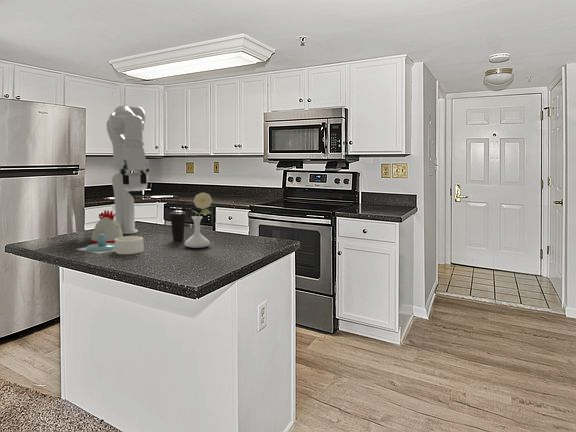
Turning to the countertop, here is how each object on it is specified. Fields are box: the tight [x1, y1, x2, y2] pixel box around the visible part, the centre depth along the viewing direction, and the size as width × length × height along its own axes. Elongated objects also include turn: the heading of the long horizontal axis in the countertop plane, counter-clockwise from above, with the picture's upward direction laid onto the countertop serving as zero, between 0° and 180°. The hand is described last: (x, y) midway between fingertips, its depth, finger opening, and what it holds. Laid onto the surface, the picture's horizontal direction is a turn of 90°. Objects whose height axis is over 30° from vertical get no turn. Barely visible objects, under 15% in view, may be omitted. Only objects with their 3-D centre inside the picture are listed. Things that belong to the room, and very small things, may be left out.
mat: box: [76, 246, 115, 255], centre depth 183 cm, size 15×14×1 cm
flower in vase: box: [184, 191, 213, 249], centre depth 190 cm, size 13×11×25 cm
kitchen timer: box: [91, 209, 124, 244], centre depth 201 cm, size 14×14×15 cm
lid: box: [86, 234, 115, 251], centre depth 183 cm, size 12×12×6 cm
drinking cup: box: [169, 199, 187, 242], centre depth 205 cm, size 8×8×20 cm
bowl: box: [114, 235, 145, 256], centre depth 178 cm, size 11×11×6 cm
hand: (134, 184), depth 187 cm, fingers open, 9 cm apart
